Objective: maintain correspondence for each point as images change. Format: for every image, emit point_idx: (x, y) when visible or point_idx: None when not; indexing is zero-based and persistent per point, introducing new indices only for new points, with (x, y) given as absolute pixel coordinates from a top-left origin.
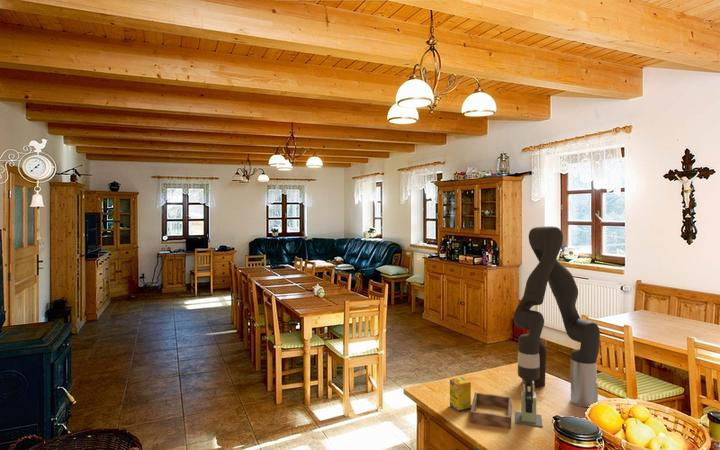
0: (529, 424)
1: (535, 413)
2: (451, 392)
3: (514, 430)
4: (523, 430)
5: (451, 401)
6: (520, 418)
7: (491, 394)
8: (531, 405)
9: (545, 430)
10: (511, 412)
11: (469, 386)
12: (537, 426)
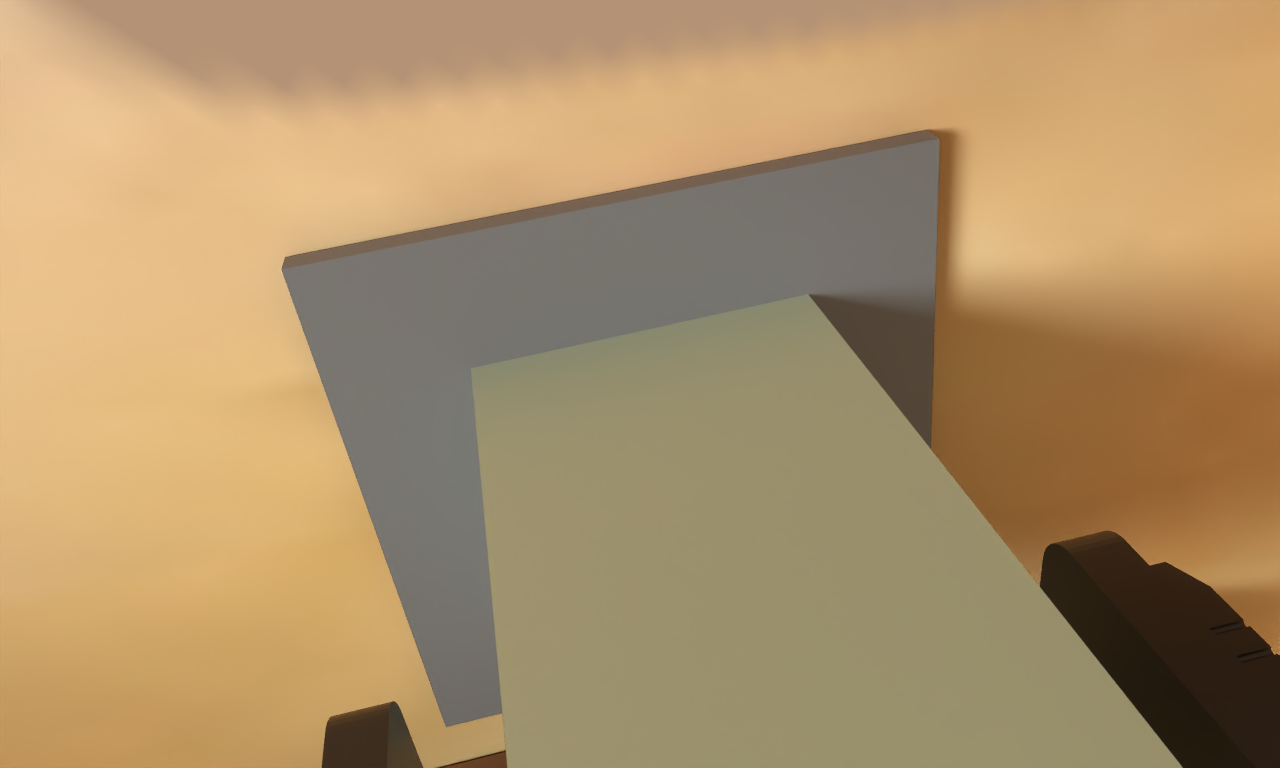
0: (930, 397)
1: (908, 436)
2: None
3: (1171, 542)
4: (1145, 430)
5: None
6: None
7: None
8: (1269, 711)
9: (1056, 42)
10: (501, 758)
11: None
12: (925, 239)
